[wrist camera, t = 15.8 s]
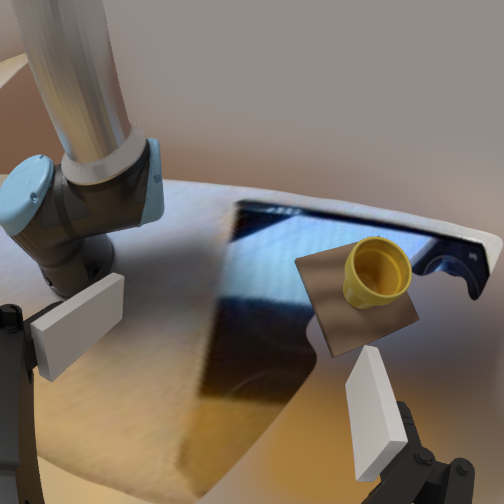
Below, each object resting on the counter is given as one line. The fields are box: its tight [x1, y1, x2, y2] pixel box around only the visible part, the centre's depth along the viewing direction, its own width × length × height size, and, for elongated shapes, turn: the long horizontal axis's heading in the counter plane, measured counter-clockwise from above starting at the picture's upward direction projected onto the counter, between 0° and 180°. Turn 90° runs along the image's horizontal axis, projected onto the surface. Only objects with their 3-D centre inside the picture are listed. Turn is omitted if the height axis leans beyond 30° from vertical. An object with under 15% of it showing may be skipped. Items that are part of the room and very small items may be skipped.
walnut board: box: [295, 236, 419, 358], centre depth 51 cm, size 18×18×1 cm
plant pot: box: [343, 236, 412, 309], centre depth 47 cm, size 10×10×10 cm
